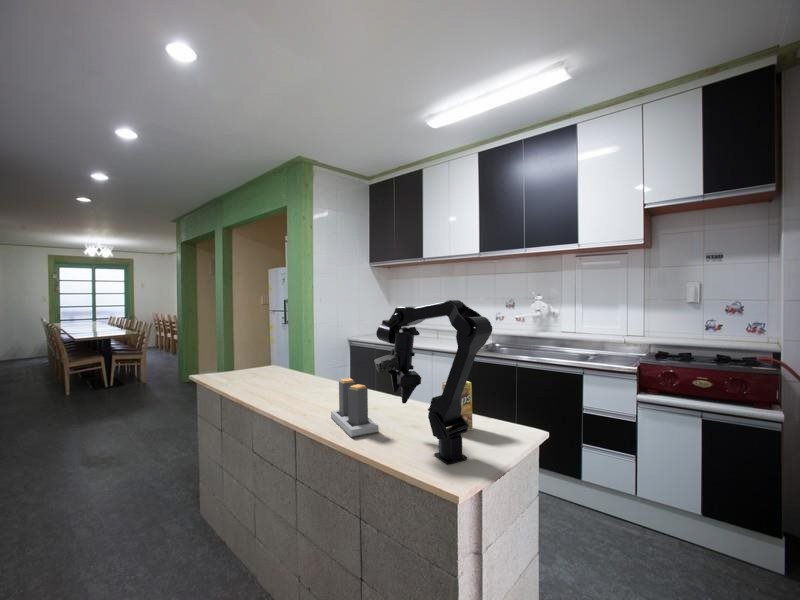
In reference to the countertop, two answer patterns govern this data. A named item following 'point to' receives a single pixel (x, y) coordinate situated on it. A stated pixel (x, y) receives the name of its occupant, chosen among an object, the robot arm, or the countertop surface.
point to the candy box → (465, 403)
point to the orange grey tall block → (357, 405)
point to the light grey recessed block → (356, 430)
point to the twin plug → (344, 395)
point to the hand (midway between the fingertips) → (399, 397)
